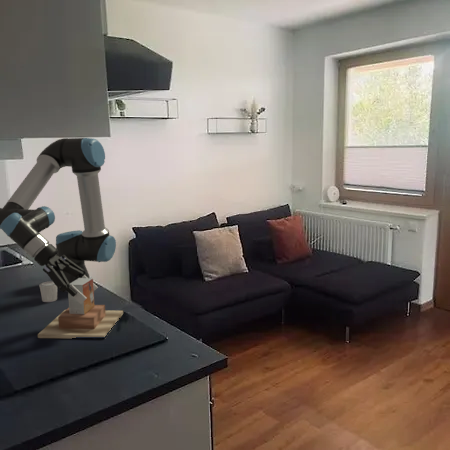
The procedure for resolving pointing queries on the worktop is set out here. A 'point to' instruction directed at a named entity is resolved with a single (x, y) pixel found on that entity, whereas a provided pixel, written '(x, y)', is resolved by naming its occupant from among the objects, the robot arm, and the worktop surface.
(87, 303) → the small box
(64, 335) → the tower base
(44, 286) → the shot glass
